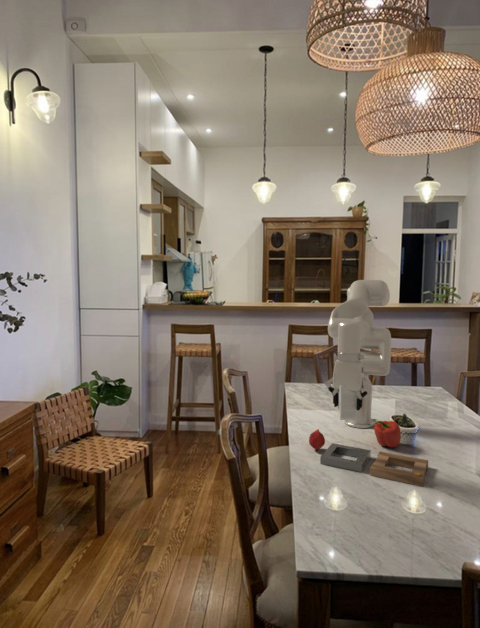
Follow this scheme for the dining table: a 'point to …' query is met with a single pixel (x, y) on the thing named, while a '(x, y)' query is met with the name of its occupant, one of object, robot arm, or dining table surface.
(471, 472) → the dining table surface
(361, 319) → the robot arm
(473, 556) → the dining table surface
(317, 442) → the onion
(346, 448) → the gray square frame
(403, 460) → the frame
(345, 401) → the skincare box
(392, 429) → the vegetable
